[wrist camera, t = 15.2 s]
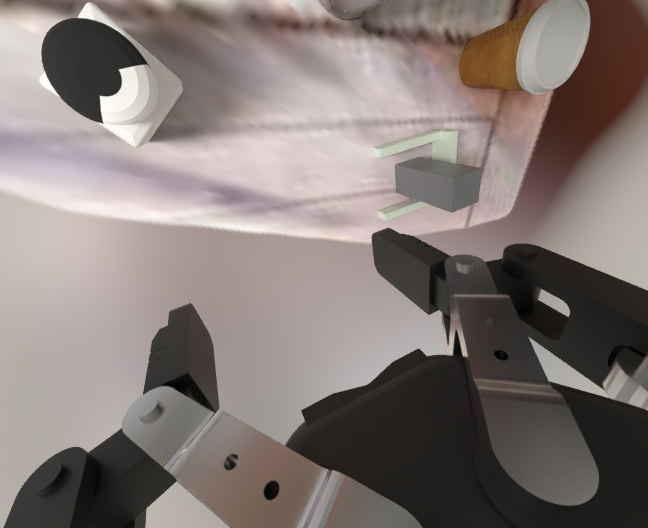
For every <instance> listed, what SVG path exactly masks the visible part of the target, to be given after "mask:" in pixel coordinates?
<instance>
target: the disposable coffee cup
mask: <svg viewBox="0 0 648 528" xmlns="http://www.w3.org/2000/svg"><path fill="white" fill-rule="evenodd" d="M589 30H590V13H589V7H588V5H587V2H586V1H585V0H548V1H547V2H546V3H545V4H543V5H542V6H541V7H539V8H538V9H535V10H533V11H530V12H528V13H527V14H524V15H522V16H520V17H517V18H515V19H513V20H511V21H509V22H508V23H504V24H502V25H500V26H498V27H496V28H494V29H491V30H489V31H487V32H485V33H483V34H480V35H478V36H476V37H474V38H473V39H471V40H470V41H469V42H468V43H467V45H466V46H465V48H464V50H463V53H462V55H461V59H460V66H459V72H460V77H461V80H462V82H463V83H464V84H465V85H466V86H468V87H478V88H493V89H508V90H522V91H526V92H529V93H530V94H535V95H540V94H544V93H546V92H548V91H549V90H551V89H554V88H557V87H558V86H560V85H561V84H563V83H564V82H565V81H566V80H567V79H568V78H569V77H570V75H571V74H572V73H573V71H574V70H575V68H576V67H577V65H578V63H579V61H580V59H581V57H582V55H583V53H584V49H585V46H586V43H587V40H588V35H589Z"/></svg>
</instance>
